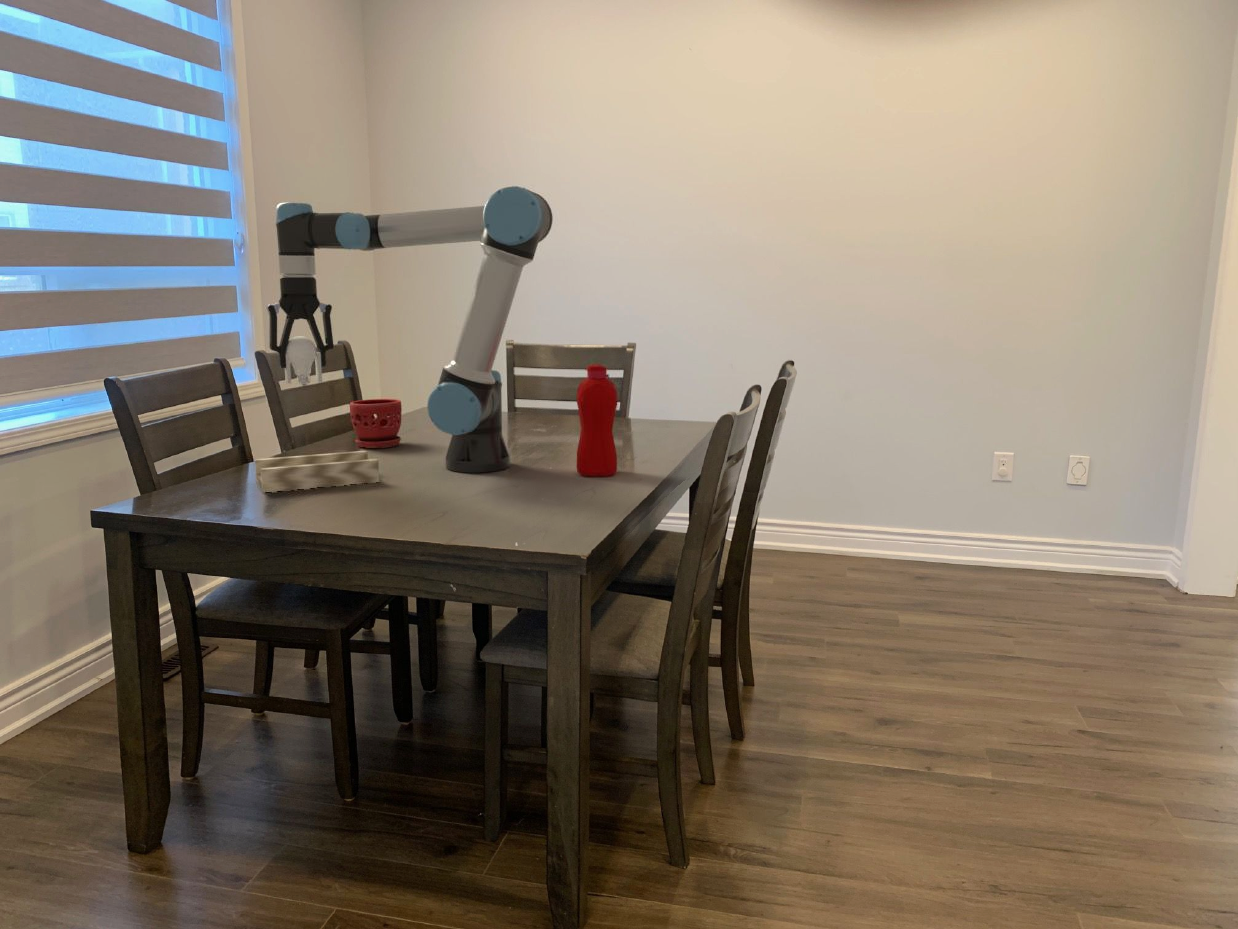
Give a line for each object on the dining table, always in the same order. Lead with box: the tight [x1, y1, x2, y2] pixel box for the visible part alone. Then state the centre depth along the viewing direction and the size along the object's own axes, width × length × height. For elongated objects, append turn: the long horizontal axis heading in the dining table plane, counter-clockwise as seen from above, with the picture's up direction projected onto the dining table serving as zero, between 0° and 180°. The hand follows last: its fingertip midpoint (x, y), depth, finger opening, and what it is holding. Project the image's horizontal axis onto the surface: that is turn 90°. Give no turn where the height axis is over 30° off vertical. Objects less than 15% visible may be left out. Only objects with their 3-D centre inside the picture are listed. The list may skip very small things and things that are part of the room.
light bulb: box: [286, 335, 317, 387], centre depth 211 cm, size 7×7×11 cm
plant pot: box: [349, 398, 403, 449], centre depth 249 cm, size 13×13×12 cm
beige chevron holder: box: [254, 450, 380, 494], centre depth 207 cm, size 24×12×5 cm, turn 117°
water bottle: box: [576, 363, 626, 477], centre depth 216 cm, size 9×11×25 cm
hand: (303, 381), depth 212 cm, fingers closed on light bulb, 6 cm apart
